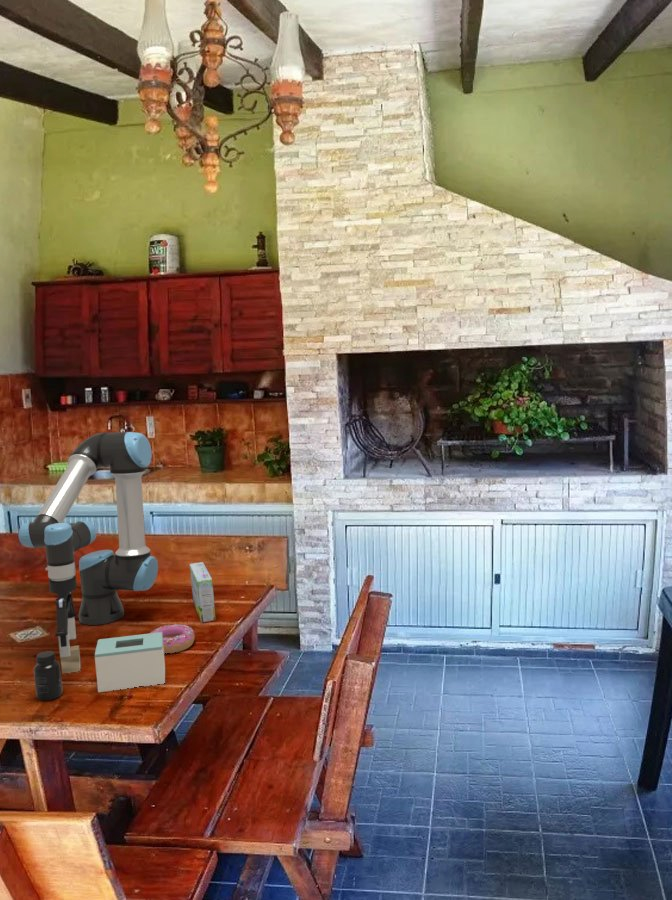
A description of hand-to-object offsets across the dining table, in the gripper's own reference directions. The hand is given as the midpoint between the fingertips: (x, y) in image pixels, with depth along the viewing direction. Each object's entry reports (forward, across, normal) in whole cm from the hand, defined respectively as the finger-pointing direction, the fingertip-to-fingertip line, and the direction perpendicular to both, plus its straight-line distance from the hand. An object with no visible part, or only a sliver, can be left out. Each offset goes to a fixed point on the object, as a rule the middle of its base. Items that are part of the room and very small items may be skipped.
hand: (68, 647), depth 228 cm
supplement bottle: (+8, +14, -4) cm, 17 cm away
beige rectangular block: (+8, 0, 0) cm, 8 cm away
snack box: (+7, -38, +40) cm, 55 cm away
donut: (+8, -10, +29) cm, 32 cm away
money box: (+8, +11, +18) cm, 23 cm away
